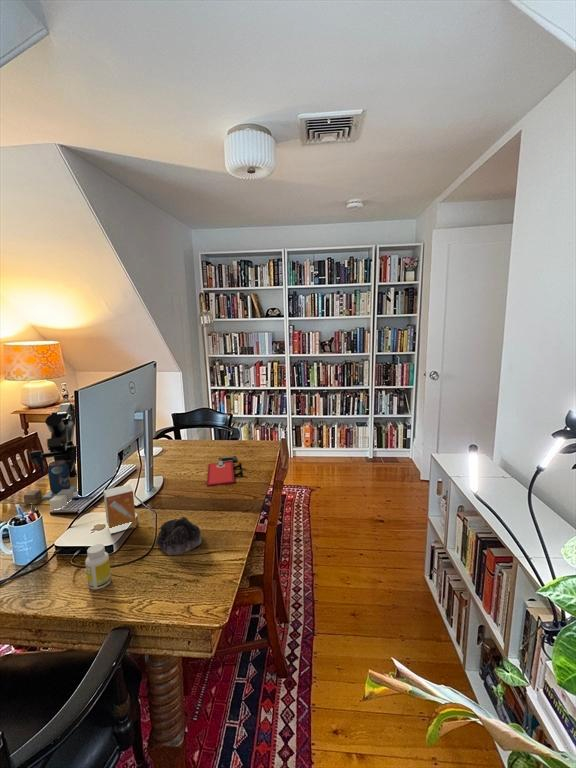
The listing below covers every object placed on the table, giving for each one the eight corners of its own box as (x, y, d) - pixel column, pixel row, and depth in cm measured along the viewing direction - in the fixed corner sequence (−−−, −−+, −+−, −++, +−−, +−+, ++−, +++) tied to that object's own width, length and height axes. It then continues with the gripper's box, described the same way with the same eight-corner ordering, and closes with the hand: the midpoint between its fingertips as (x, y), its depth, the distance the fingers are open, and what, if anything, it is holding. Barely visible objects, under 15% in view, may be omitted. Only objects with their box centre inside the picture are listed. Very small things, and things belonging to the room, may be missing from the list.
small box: (110, 535, 117) (105, 497, 115) (107, 527, 122) (102, 490, 120) (137, 527, 122) (133, 490, 119) (133, 519, 127) (129, 483, 125)
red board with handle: (240, 457, 183) (209, 461, 180) (239, 452, 182) (208, 455, 180) (243, 483, 154) (207, 488, 151) (243, 477, 153) (206, 481, 151)
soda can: (65, 494, 145) (61, 465, 143) (47, 495, 144) (43, 466, 142) (74, 486, 152) (70, 458, 150) (56, 487, 151) (52, 459, 149)
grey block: (63, 499, 143) (62, 489, 143) (74, 498, 144) (73, 489, 143) (58, 504, 139) (56, 494, 139) (69, 503, 140) (67, 493, 139)
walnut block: (31, 500, 143) (29, 490, 143) (42, 499, 144) (40, 489, 143) (24, 505, 140) (23, 495, 139) (36, 504, 140) (34, 494, 139)
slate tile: (55, 489, 152) (54, 487, 152) (77, 488, 153) (77, 485, 153) (42, 499, 143) (42, 497, 143) (66, 498, 144) (66, 495, 144)
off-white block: (56, 505, 138) (55, 495, 138) (67, 504, 139) (66, 494, 138) (50, 510, 135) (49, 500, 134) (62, 510, 135) (60, 499, 134)
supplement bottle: (115, 575, 99) (111, 541, 97) (106, 589, 93) (101, 554, 92) (94, 576, 98) (90, 542, 97) (84, 591, 93) (79, 555, 91)
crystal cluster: (170, 532, 120) (164, 504, 118) (210, 530, 118) (204, 502, 116) (151, 561, 107) (143, 531, 105) (195, 560, 105) (189, 529, 103)
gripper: (26, 432, 144) (22, 469, 136) (80, 425, 151) (80, 460, 143) (34, 445, 152) (31, 481, 144) (85, 439, 159) (85, 472, 151)
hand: (57, 473), depth 145 cm, fingers open, 9 cm apart
